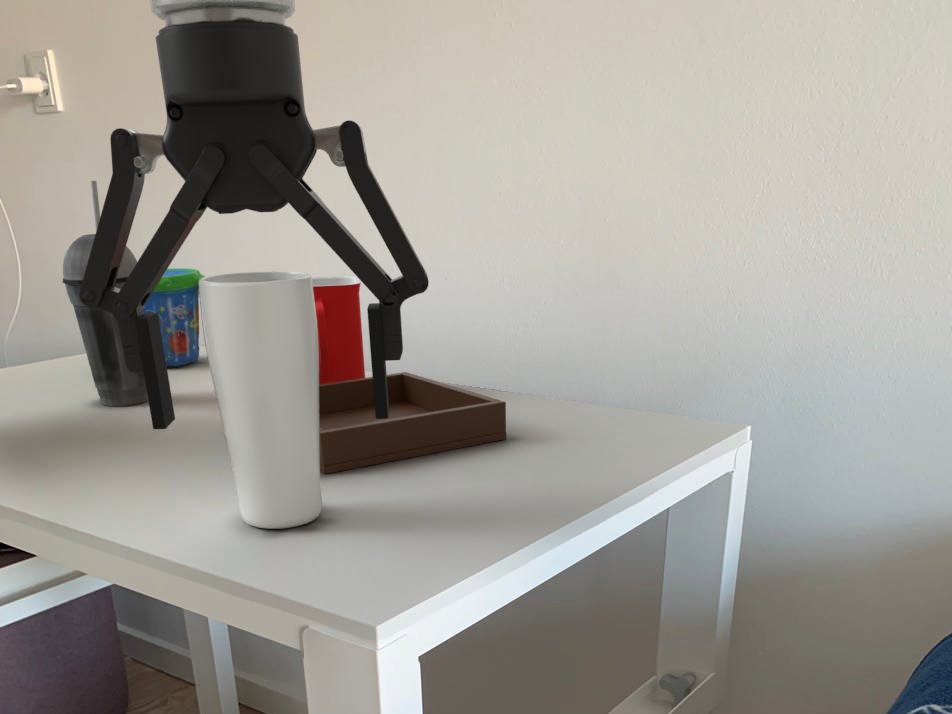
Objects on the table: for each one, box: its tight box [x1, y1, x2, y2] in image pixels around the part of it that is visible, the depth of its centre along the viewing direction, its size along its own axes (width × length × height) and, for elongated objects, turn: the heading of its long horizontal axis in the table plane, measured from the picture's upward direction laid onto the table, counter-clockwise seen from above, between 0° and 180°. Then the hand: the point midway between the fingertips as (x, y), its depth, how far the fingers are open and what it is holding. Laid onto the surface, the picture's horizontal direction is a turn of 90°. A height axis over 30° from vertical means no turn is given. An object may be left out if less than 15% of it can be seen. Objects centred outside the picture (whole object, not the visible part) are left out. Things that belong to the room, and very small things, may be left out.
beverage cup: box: [62, 180, 148, 407], centre depth 96 cm, size 7×7×20 cm
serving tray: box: [319, 371, 507, 475], centre depth 85 cm, size 17×17×3 cm
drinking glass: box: [198, 270, 323, 530], centre depth 63 cm, size 7×7×15 cm
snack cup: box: [143, 267, 207, 368], centre depth 116 cm, size 16×10×10 cm
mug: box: [311, 275, 366, 384], centre depth 98 cm, size 12×8×11 cm
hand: (274, 419), depth 63 cm, fingers open, 13 cm apart
